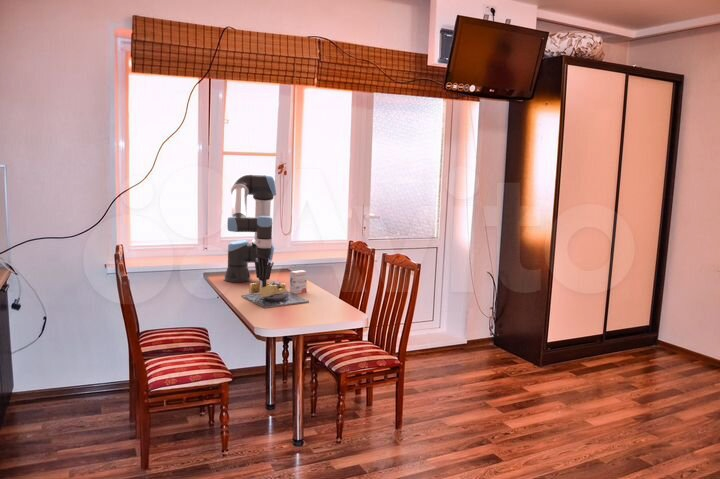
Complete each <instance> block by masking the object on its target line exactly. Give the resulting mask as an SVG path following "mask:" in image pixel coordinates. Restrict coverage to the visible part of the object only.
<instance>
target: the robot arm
mask: <svg viewBox="0 0 720 479" xmlns="http://www.w3.org/2000/svg"><path fill="white" fill-rule="evenodd" d="M230 188H231V189H230V193H231V195H232V201H231V202H232V205H231V206H232V207H231V216H229V217H227V225H226V226H227V231H228V232H233V233H254V238H253V239H252V240H251V242H249V241H248V239H247V240H246V239H245V240H244V239H243V240H233V241H231V242H229V243H228V244H227V245H228V246H227V268H226V271H225V273H224V281H226V282H230V283H246V281H247V282H249V280H250V281H251V274H250V271H249V267H248V265H249V263H254V267H255V274H256V275H255V276H256V278H257V279H258V280H259V281H258V282H259V285H260V287H263V286H266V283H267V281H268V280H270V279H271V273H272V271H273V270H272V269H273V266H274V264H275V263H274V262H273V257H274V250H275V243H273V241H272V239H273V238H272V237H273V236H272V234H273V217H272V216H271V204H272V203H271V201H273V200H274V196H276V195H277V191H276V189H277V188H276V180H275V176H273V175H272V174H262V173H261V174H258V173H257V174H256V173H255V174H254V173H253V174H251V173H246V174H243V175H241V176H238V177H237V178H235V180H234V181H233V183H232V185H231V187H230ZM250 195H251V196H252V198H253V200H254V201H255V206H254V207H255V208H254V209H255V213H254V214H255V215H254V217H251V216H250V217H249V216H248V217H247V209H248V208H247V204H248V202H247V201H248V199H247V197H248V196H250Z"/></svg>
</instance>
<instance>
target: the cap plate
mask: <svg viewBox="0 0 720 479" xmlns="http://www.w3.org/2000/svg"><path fill="white" fill-rule="evenodd" d="M270 285H277V288H280V285H281V283H280V282H279V281H278V282H274V281H270ZM240 297H242V298H244V299H246V300H247V301H249V302H251V303H253V304H255V305H257V306H259V307H261V308H263V309H269V308H270V309H271V308H276V307H283V306H284V307H286V306H292V305H299V304H307V303H308V304H309V303H310V300H308V299H305V298H303V297H302V296H298V294H297V295H296V294H293V293H290V291H288V290H286V293H282V294H274V295H271V296H266V297H260V292H259V293H254V294H249V293H247V294H241V296H240Z"/></svg>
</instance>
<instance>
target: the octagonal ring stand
mask: <svg viewBox="0 0 720 479" xmlns="http://www.w3.org/2000/svg"><path fill="white" fill-rule="evenodd" d="M273 282H279V280H276V281H275V280H273ZM286 291H287V285H286V283H285V282H283V283H282V282H281V283H280V288H277V285H271V284H270V282H266V286H263V287H260V285H259V281H258V282H253V283H249V290H248V292H249V293H248V294H256V293H260V297H266V296H271V295H274V294H282V293H286Z"/></svg>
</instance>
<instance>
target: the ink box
mask: <svg viewBox="0 0 720 479" xmlns="http://www.w3.org/2000/svg"><path fill="white" fill-rule="evenodd" d="M307 273H308V272H307V271H306V270H294V271H289V292H290V293H292V294H294V295H296V294H297V295H298V294H302V293H303V294H304V293H307V281H308V280H307V279H308V278H307Z"/></svg>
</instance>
